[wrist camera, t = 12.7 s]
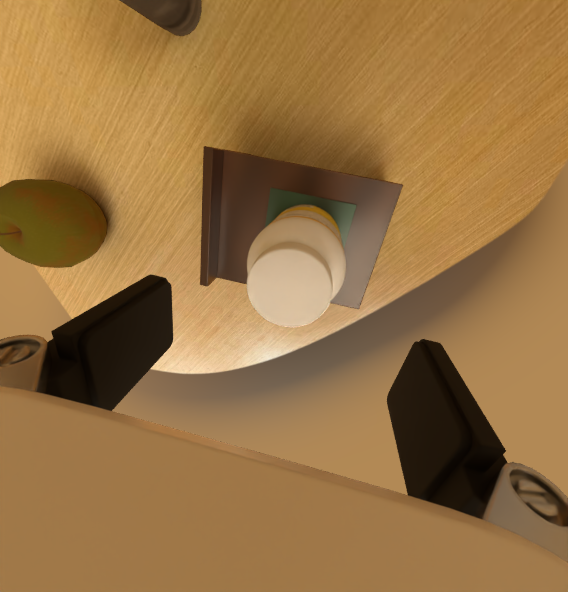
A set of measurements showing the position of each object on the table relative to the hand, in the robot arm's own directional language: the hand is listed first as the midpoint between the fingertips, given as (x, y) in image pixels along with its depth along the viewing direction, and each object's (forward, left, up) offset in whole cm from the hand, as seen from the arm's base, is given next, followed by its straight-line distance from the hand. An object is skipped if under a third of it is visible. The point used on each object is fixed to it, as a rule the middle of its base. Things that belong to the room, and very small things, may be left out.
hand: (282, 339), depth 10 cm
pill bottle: (0, 0, -16) cm, 16 cm away
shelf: (+1, 0, -23) cm, 23 cm away
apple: (+29, +5, -24) cm, 38 cm away
